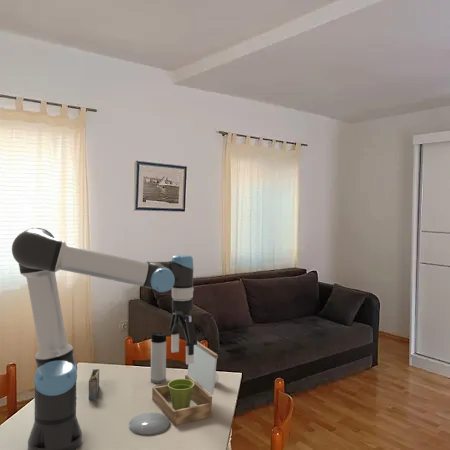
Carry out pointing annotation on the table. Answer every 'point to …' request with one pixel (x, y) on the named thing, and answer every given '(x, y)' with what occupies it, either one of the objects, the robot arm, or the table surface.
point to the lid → (203, 367)
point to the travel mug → (158, 357)
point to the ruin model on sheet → (93, 384)
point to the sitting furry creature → (215, 379)
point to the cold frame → (184, 414)
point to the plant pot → (180, 393)
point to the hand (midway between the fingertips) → (182, 357)
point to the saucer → (149, 423)
